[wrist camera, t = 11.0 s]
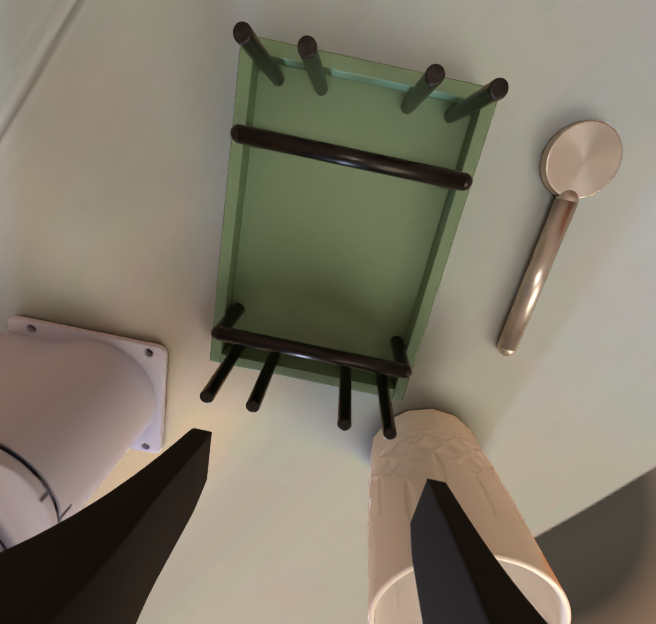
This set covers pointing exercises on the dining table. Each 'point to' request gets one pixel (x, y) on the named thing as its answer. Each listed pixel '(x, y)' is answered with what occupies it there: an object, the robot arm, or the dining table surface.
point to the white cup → (473, 496)
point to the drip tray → (339, 213)
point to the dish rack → (349, 159)
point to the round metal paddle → (562, 207)
